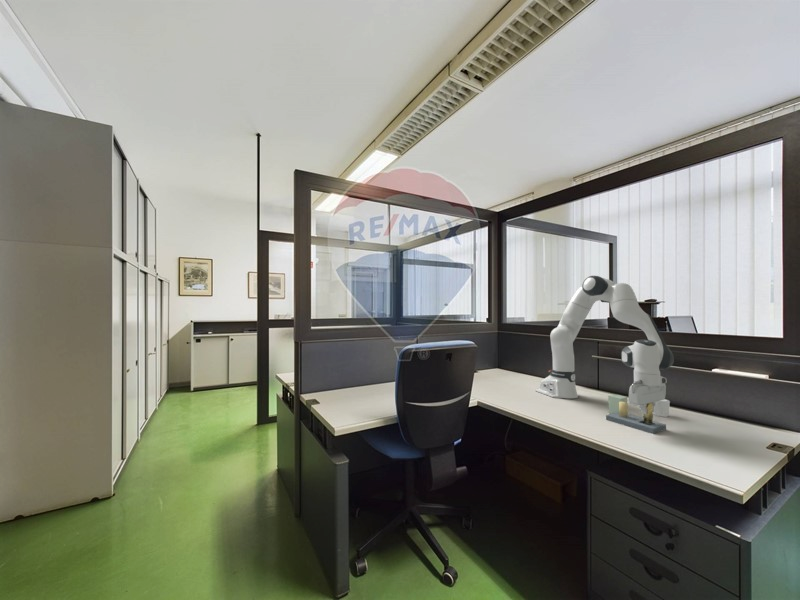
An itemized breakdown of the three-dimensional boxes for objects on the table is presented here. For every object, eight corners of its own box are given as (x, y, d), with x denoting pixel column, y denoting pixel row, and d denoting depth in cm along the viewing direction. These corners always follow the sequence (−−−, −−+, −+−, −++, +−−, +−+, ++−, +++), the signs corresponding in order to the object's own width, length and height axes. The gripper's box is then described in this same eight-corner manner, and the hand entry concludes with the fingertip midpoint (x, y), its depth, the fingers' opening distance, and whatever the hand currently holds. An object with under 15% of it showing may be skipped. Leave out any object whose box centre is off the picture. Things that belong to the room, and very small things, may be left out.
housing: (608, 412, 152) (608, 395, 152) (615, 410, 155) (615, 394, 155) (620, 416, 147) (620, 398, 148) (627, 414, 150) (627, 397, 150)
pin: (641, 421, 134) (641, 401, 134) (646, 420, 135) (645, 400, 135) (650, 423, 131) (649, 403, 131) (654, 422, 132) (653, 402, 133)
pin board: (606, 419, 143) (605, 401, 143) (618, 416, 148) (618, 398, 148) (653, 433, 127) (653, 413, 127) (665, 429, 132) (665, 409, 132)
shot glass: (673, 417, 145) (673, 402, 145) (656, 416, 147) (656, 401, 147) (664, 412, 152) (664, 397, 152) (648, 411, 153) (647, 397, 153)
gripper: (640, 383, 126) (641, 419, 126) (669, 378, 135) (669, 411, 135) (623, 380, 132) (624, 414, 132) (651, 375, 141) (652, 407, 141)
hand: (647, 413), depth 133 cm, fingers closed on pin, 3 cm apart
